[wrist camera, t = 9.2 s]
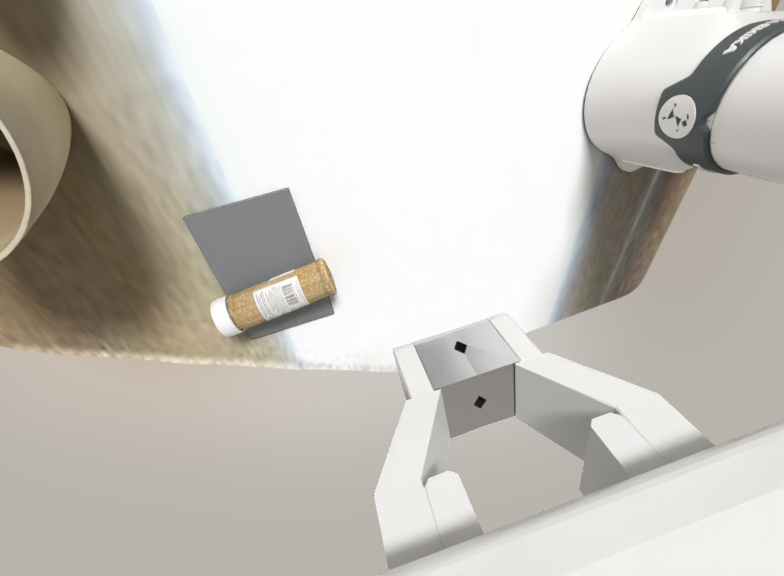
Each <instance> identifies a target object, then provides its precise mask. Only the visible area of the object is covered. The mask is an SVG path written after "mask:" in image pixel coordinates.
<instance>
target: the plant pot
mask: <svg viewBox="0 0 784 576" xmlns="http://www.w3.org/2000/svg"><path fill="white" fill-rule="evenodd" d="M70 144H71V119H70V114H69V111H68V108H67V106H66V104H65V102H64V100H63V98H62V97H61V95H60V94H59V92H58V91H57V90H56V89H55V88H54V87H53V85H52V84H51V83H50V82H49V81H47V80H46V79H45V78H44V77H43V76H42V75H40V74H39V73H38V72H36V71H35V70H33V69H32V68H30V67H29V66H28V65H26V64H25V63H23V62H21V61H20V60H18V59H16V58H15V57H13V56H11V55H10V54H8V53H6V52H4V51H3V50H1V49H0V261H1V260H3V259H4V258H6V257H7V256H8V255H9V254H10V253H11V252H12V251H13V250H14V249H15V248H16V246H17V245H18V244H19V243H20V242H21V240H22V239H23V238H24V237H25V235H26V234H27V233H28V231H29V230H30V229H31V227H32V226H33V224H34V223H35V222H36V220H37V219H38V218H39V216H40V215H41V213H42V212H43V211H44V209H45V208H46V206H47V204H48V203H49V201H50V199H51V198H52V196H53V194H54V192H55V190H56V188H57V186H58V184H59V181H60V179H61V176H62V174H63V171H64V168H65V165H66V162H67V159H68V155H69V150H70Z"/></svg>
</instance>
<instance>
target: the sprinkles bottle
mask: <svg viewBox="0 0 784 576" xmlns="http://www.w3.org/2000/svg"><path fill="white" fill-rule="evenodd" d="M334 294H336V287H335V283H334V280H333V277H332V275H331V272H330V270H329V268H328V266H327V264H326V262H325V261H324V260H323V259H322V258H320V259H318V260H317V261H315V262H312V263H310V264H307V265H305V266H302V267H300V268H297V269H293V270H291V271H288V272H286V273H283V274H281V275H278V276H276V277H273V278H271V279H270V280H268V281H265V282H262V283H260V284H257V285H255V286H253V287H250V288H248V289H245V290H243V291H240V292H238V293H236V294H232V295H226V296H223V297H221V298H219V299H216V300H214V301H213V302H212V303H211V315H212V319H213V321H214V323H215V325H216V327H217V329H218V330H219V331H220V332H221V333H222V334H223V335H224V336H226V337H231V336H234V335H237V334H239V333H242V332H244V331H245V330H247V329H248V328H250V327H252V326H255V325H257V324H260V323H262V322H265V321H269V320H271V319H274V318H276V317H279V316H281V315H284V314H286V313H289V312H291V311H294V310H296V309H299V308H301V307H304V306H306V305H308V304H310V303H312V302H314V301H317V300H319V299H322V298H324V297H327V296H329V295H334Z"/></svg>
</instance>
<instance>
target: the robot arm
mask: <svg viewBox="0 0 784 576" xmlns="http://www.w3.org/2000/svg"><path fill="white" fill-rule="evenodd" d="M665 3H666V0H643V2H642V4H641V5H640V7H639V9H638V11H637V13H636V15H635V16H634V18H633V20H632V21H631V23H630V24H629V25H628V26H627V27H626V28H625V29H624V30H623V31H622V32H621V34H620V35H619V36H618V37H617V38H616V39H615V40H614V41H613V42H612V43H611V45H610V46H609V47H608V49H607V50H606V51H605V53H604V54H603V56H602V57H601V59H600V61H599V63H598V64H597V66H596V68H595V70H594V73H593V75H592V77H591V80H590V83H589V86H588V90H587V94H586V99H585V107H584V119H585V126H586V130H587V133H588V136H589V138H590V140H591V141H592V143H593V144H594V145H595V146H596V147H597V148H598V149H599V150H601V151H603V152H605V153H607V154H609V155H610V156H612V157H613V158H614V160H615V162H616V164H617V165H618V167H619V168H620V169H621V170H622V171H627V172H632V171H635V170H637V169H639V168H641V167H643V166H646V167H650V168H654V169H659V170H664V171H668V172H673V173H683V172H684V171H685V170H688V169H691V168H693V167H697V168H698V169H700V170H703V171H707V172H712V173H721V174H727V175H733V174H739V173H740V174H743V175H747V176H751V177H754V178H758V179H762V180H766V181H769V182H773V183H777V184H781V185H784V11H771V0H667V4H666V5H665ZM393 354H394V357H395V361H396V365H397V369H398V372H399V376H400V380H401V383H402V386H403V390H404V393H405V396H406V401H405V402H404V405H403V408H402V411H401V414H400V418H399V420H398V424H397V427H396V430H395V433H394V436H393V439H392V442H391V445H390V448H389V451H388V454H387V457H386V460H385V463H384V466H383V470H382V472H381V475H380V479H379V482H378V485H377V488H376V491H375V494H374V498H375V503H376V508H377V513H378V518H379V523H380V527H381V533H382V537H383V543H384V547H385V553H386V558H387V563H388V568H389V570H388V571H386V572H383V573H380V574H378V575H375V576H784V420H782V421H780V422H777V423H774V424H772V425H769V426H767V427H764V428H761V429H759V430H756V431H753V432H751V433H748V434H746V435H743V436H740V437H738V438H735V439H732V440H730V441H727V442H725V443H722V444H719V445H717V446H715V445H714V444H712V443H711V442H710V441H709V440H708V439H707V438H706V437H705V436H704V435H703V434H702V433H700V432H699V431H698V430H697V429H696V428H695V427H694V426H693V425H692V424H691V423H689V422H688V421H687V420H686V419H685V418H684V417H683V416H682V415H681V414H680V413H679V412H678V411H676V410H675V409H674V408H673V407H672V406H671V405H670V404H669V403H668V402H667V401H666V400H664V399H663V398H662V397H661V396H660V395H659V394H658V393H655V392H652V391H650V390H647V389H644V388H642V387H639V386H636V385H634V384H631V383H629V382H626V381H623V380H620V379H618V378H615V377H613V376H610V375H607V374H605V373H602V372H599V371H597V370H594V369H592V368H589V367H586V366H583V365H581V364H578V363H576V362H573V361H570V360H568V359H565V358H562V357H560V356H557V355H554V354H552V353H549V352H548V353H544V354H542V353H541V351H540V350H539V349H538V348H537V347H536V346H535V344H533V342H532V341H531V340H530V339H529V338H528V336H527V335H526V334H525V333H524V332H523V331H522V329H521V328H520V327H519V326H518V325H517V324H516V323H515V321H514V320H513V319H512V318H511V317H510V316H509V314H507V313H505V312H504V313H501V314H498V315H495V316H492V317H489V318H487V319H486V320H485V319H484V320H481V321H478V322H475V323H472V324H469V325H466V326H463V327H460V328H457V329H454V330H451V331H449V332H446V333H442V334H439V335H436V336H432V337H429V338H426V339H422V340H419V341H415V342H412V343H411V344H407V345H404V346H400V347H397V348H393ZM515 415H516V418H518V419H519V420H521V421H522V422H524V423H526V424H527V425H529V426H530V427H532V428H533V429H535V430H537V431H538V432H540V433H541V434H543V435H544V436H546V437H548V438H549V439H551V440H552V441H554V442H555V443H557V444H558V445H560V446H562V447H563V448H565V449H566V450H568V451H570V452H571V453H572V454H574V455H576V456H577V457H579V458H580V459H582V460H584V466H583V472H582V478H581V483H580V491H581V493H582V494H583V497H580V498H577V499H575V500H572V501H570V502H567V503H564V504H562V505H559V506H556V507H554V508H551V509H549V510H546V511H543V512H541V513H538V514H535V515H533V516H530V517H527V518H525V519H522V520H520V521H517V522H514V523H512V524H509V525H506V526H504V527H501V528H498V529H496V530H493V531H491V532H488V533H485V534H483V532H482V529H481V527H480V525H479V522H478V520H477V518H476V515H475V513H474V510H473V508H472V506H471V503H470V501H469V499H468V496H467V494H466V492H465V489H464V487H463V485H462V482H461V480H460V477H459V475H458V474H456V473H453V472H451V471H446V469H447V463H448V457H449V449H450V443H451V439H450V438H453V437H455V436H458V435H461V434H463V433H466V432H468V431H471V430H473V429H476V428H479V427H481V426H484V425H487V424H491V423H494V422H497V421H500V420H503V419H506V418H509V417H512V416H515Z"/></svg>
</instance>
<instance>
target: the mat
mask: <svg viewBox="0 0 784 576" xmlns="http://www.w3.org/2000/svg"><path fill="white" fill-rule="evenodd" d="M183 220H184V221H185V223H186V225H187V227H188V228H189V230H190V232H191V234H192V236H193V237H194V239H195V241H196V243H197V245H198V246H199V248H200V250H201V252H202V253H203V255H204V257H205V259H206V261H207V262H208V264H209V266H210V268H211V269H212V271H213V273H214V275H215V277H216V278H217V280H218V282H219V284H220V285H221V287H222V289H223V291H224V293H225V294H226V295H232V294H236V293H238V292H240V291H243V290H245V289H248V288H250V287H253V286H255V285H257V284H260V283H262V282H265V281H268V280H270V279H271V278H273V277H276V276H278V275H281V274H283V273H286V272H288V271H291V270H293V269H297V268H300V267H302V266H305V265H307V264H310V263H312V262H315V259H314V256H313V253H312V251H311V248H310V245H309V242H308V240H307V237H306V234H305V232H304V229H303V226H302V223H301V221H300V218H299V215H298V213H297V210H296V207H295V204H294V202H293V199H292V196H291V194H290V191H289V188H285V189H281V190H277V191H274V192H270V193H267V194H263V195H260V196H256V197H252V198H249V199H245V200H242V201H238V202H234V203H231V204H227V205H224V206H220V207H216V208H213V209H209V210H206V211H202V212H198V213H195V214H191V215H188V216H184V217H183ZM333 313H334V310H333V308H332V305H331V302H330V300H329V297H328V296H327V297H324V298H322V299H319V300H317V301H314V302H312V303H310V304H308V305H306V306H304V307H301V308H299V309H296V310H294V311H291V312H289V313H286V314H284V315H281V316H279V317H276V318H274V319H271V320H269V321H265V322H262V323H260V324H257V325H255V326H252V327H250V328H248V329H247V330H246V332H247V334H248V335H249V337H250V339H253V338H257V337H260V336H263V335H266V334H269V333H273V332H276V331H279V330H282V329H285V328H289V327H292V326H295V325H298V324H301V323H305V322H308V321H311V320H314V319H317V318H321V317H324V316H327V315H330V314H333Z"/></svg>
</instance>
